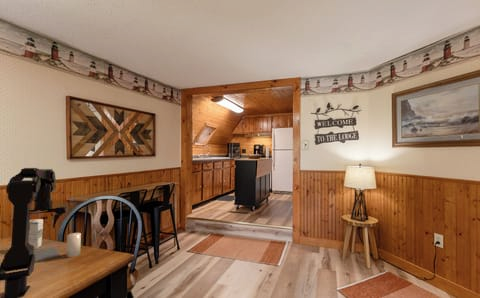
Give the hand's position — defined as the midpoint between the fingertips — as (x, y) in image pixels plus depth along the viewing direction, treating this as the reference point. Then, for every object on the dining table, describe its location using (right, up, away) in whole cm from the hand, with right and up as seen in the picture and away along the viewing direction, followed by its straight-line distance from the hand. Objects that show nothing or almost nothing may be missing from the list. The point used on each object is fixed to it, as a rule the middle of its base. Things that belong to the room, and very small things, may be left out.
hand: (41, 229), depth 108 cm
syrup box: (-17, -15, +15) cm, 28 cm away
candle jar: (+10, -15, +7) cm, 19 cm away
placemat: (-5, -15, +7) cm, 17 cm away
